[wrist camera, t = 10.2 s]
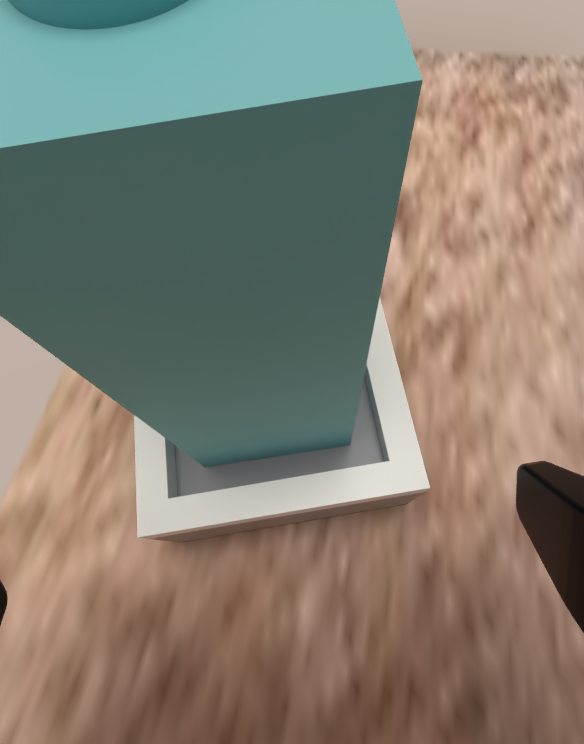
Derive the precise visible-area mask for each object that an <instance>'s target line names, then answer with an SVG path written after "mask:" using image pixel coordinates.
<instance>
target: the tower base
mask: <svg viewBox="0 0 584 744" xmlns="http://www.w3.org/2000/svg"><path fill="white" fill-rule="evenodd" d="M134 429H135V465H136V501H137V537H138V538H147V539H156V540H164V541H173V542H186V541H191V540H197V539H203V538H209V537H215V536H221V535H227V534H233V533H239V532H245V531H251V530H256V529H262V528H268V527H274V526H280V525H286V524H292V523H298V522H304V521H310V520H316V519H321V518H327V517H333V516H339V515H345V514H351V513H357V512H363V511H369V510H375V509H381V508H386V507H392V506H398V505H404V504H408V503H409V502H410V501H412V500H413V499H415V498H416V497H418V496H419V495H421V494H422V493H423V492H425V491H426V490H428V489H429V488H430V486H429V482H428V478H427V475H426V471H425V467H424V463H423V459H422V456H421V452H420V448H419V444H418V440H417V437H416V433H415V429H414V425H413V421H412V418H411V414H410V410H409V406H408V402H407V399H406V395H405V391H404V387H403V384H402V380H401V376H400V372H399V368H398V365H397V361H396V357H395V353H394V349H393V346H392V342H391V338H390V334H389V330H388V327H387V323H386V319H385V315H384V311H383V308H382V304H381V300H380V298H379V303H378V308H377V313H376V318H375V323H374V328H373V333H372V338H371V343H370V348H369V353H368V358H367V364H366V369H365V374H364V379H363V384H362V389H361V394H360V399H359V404H358V409H357V414H356V419H355V424H354V429H353V434H352V440H351V445H349V446H343V447H336V448H329V449H323V450H316V451H309V452H303V453H296V454H289V455H283V456H276V457H269V458H262V459H256V460H249V461H242V462H236V463H229V464H222V465H216V466H209V467H204V466H202V465H201V464H200V463H198V462H197V461H196V460H194V459H193V458H192V457H190V456H189V455H187V454H186V453H185V452H183V451H182V450H181V449H179V448H178V447H177V446H175V445H174V444H173V443H171V442H170V441H169V440H167V439H166V438H165V437H163V436H162V435H161V434H159V433H158V432H157V431H155V430H154V429H152V428H151V427H150V426H148V425H147V424H146V423H144V422H143V421H142V420H140V419H139V418H138V417H136V416H135V415H134Z"/></svg>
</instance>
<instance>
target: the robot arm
mask: <svg viewBox="0 0 584 744" xmlns="http://www.w3.org/2000/svg"><path fill="white" fill-rule="evenodd" d="M516 508H517V512H518V516H519V518H520V520H521V522H522V524H523V526H524V528H525V530H526V532H527V534H528V536H529V538H530V539H531V541H532V543H533V545H534V547H535V549H536V551H537V553H538V555H539V557H540V558H541V560H542V562H543V564H544V566H545V568H546V570H547V572H548V574H549V576H550V578H551V579H552V581H553V583H554V585H555V587H556V589H557V591H558V593H559V594H560V596H561V598H562V600H563V602H564V603H565V605H566V607H567V608H568V610H569V611H570V613H571V615H572V616H573V618H574V619H575V621H576V622H577V624H578V625H579V627H580V628H581V630H582V631H583V633H584V476H582V475H579V474H577V473H574V472H572V471H569V470H567V469H564V468H562V467H559V466H557V465H554V464H552V463H549V462H546V461H538V462H532V463H526V464H522V465H521V466H519V467H518V470H517V487H516ZM6 606H7V592H6V590H5V588H4V586H3V584H2V582H1V580H0V625H1V622H2V619H3V616H4V613H5V610H6Z"/></svg>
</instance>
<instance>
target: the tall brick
mask: <svg viewBox="0 0 584 744" xmlns="http://www.w3.org/2000/svg"><path fill="white" fill-rule="evenodd" d="M421 85H422V77H421V74H420V71H419V68H418V66H417V63H416V60H415V57H414V54H413V51H412V48H411V46H410V43H409V40H408V37H407V34H406V31H405V29H404V26H403V23H402V20H401V17H400V14H399V12H398V9H397V6H396V3H395V0H0V316H2V317H3V318H4V319H6V320H7V321H8V322H10V323H11V324H12V325H14V326H15V327H16V328H18V329H19V330H20V331H22V332H23V333H24V334H26V335H27V336H29V337H30V338H31V339H33V340H34V341H35V342H37V343H38V344H39V345H41V346H42V347H43V348H45V349H46V350H48V351H49V352H50V353H52V354H53V355H54V356H55V357H57V358H58V359H60V360H61V361H62V362H64V363H65V364H66V365H68V366H69V367H70V368H72V369H73V370H74V371H76V372H77V373H78V374H80V375H81V376H82V377H84V378H85V379H86V380H88V381H89V382H90V383H92V384H93V385H95V386H96V387H97V388H99V389H100V390H101V391H103V392H104V393H105V394H107V395H108V396H109V397H111V398H112V399H113V400H115V401H116V402H117V403H119V404H120V405H121V406H123V407H124V408H126V409H127V410H128V411H130V412H131V413H132V414H134V415H135V416H136V417H138V418H139V419H140V420H142V421H143V422H144V423H146V424H147V425H148V426H150V427H151V428H152V429H154V430H155V431H157V432H158V433H159V434H161V435H162V436H163V437H165V438H166V439H167V440H169V441H170V442H171V443H173V444H174V445H175V446H177V447H178V448H179V449H181V450H182V451H183V452H185V453H186V454H187V455H189V456H190V457H192V458H193V459H194V460H196V461H197V462H198V463H200V464H201V465H202V466H204V467H209V466H216V465H222V464H229V463H236V462H242V461H249V460H256V459H262V458H269V457H276V456H283V455H289V454H296V453H303V452H309V451H316V450H323V449H329V448H336V447H343V446H349V445H351V440H352V434H353V429H354V424H355V419H356V414H357V409H358V404H359V399H360V394H361V389H362V384H363V379H364V374H365V369H366V364H367V358H368V353H369V348H370V343H371V338H372V333H373V328H374V323H375V318H376V313H377V308H378V303H379V298H380V293H381V288H382V282H383V277H384V272H385V267H386V262H387V257H388V252H389V247H390V242H391V237H392V232H393V227H394V222H395V217H396V212H397V206H398V201H399V196H400V191H401V186H402V181H403V176H404V171H405V166H406V161H407V156H408V151H409V146H410V141H411V136H412V130H413V125H414V120H415V115H416V110H417V105H418V100H419V95H420V90H421Z"/></svg>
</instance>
